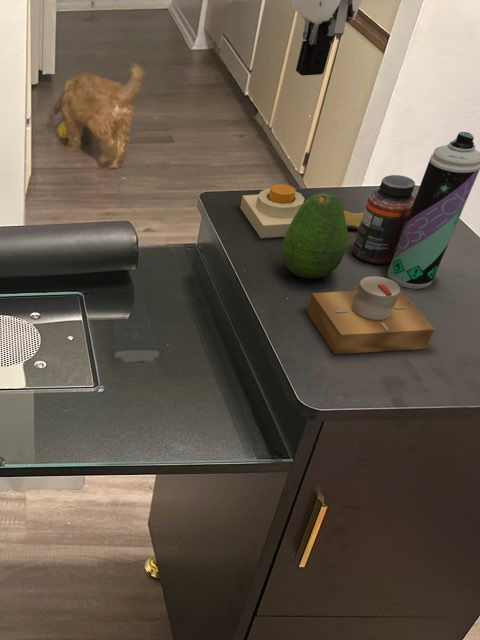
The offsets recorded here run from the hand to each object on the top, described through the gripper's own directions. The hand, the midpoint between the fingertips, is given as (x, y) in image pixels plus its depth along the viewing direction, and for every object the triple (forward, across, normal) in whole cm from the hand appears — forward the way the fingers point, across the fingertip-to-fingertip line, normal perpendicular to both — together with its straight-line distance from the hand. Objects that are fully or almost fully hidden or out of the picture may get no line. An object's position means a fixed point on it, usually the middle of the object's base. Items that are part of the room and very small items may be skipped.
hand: (309, 72), depth 99 cm
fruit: (+22, +16, -1) cm, 28 cm away
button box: (+22, 0, 0) cm, 22 cm away
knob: (+19, +29, +1) cm, 35 cm away
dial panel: (+22, +29, +2) cm, 37 cm away
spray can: (+22, +18, +12) cm, 31 cm away
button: (+19, 0, 0) cm, 19 cm away
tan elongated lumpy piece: (+22, +4, +12) cm, 26 cm away
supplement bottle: (+22, +12, +10) cm, 27 cm away
